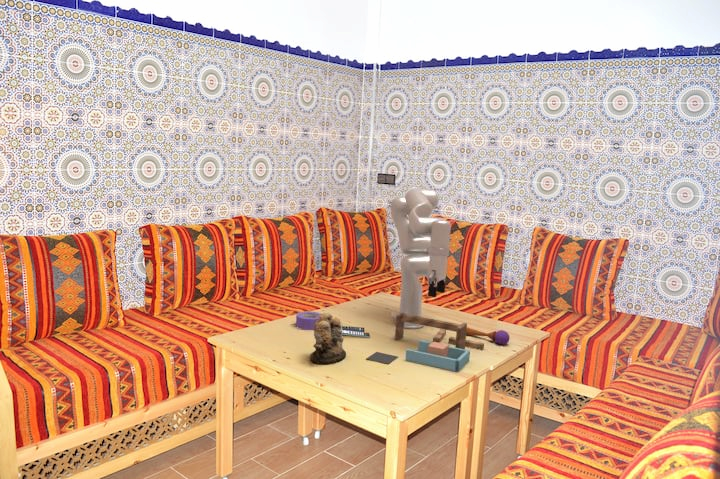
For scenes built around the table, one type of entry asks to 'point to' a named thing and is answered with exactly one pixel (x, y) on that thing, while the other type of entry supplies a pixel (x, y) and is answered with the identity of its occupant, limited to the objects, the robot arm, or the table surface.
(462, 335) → the crook rake
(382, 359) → the grey square tile
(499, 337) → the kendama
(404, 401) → the table surface
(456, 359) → the cubby
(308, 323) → the tape roll
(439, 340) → the plain stick
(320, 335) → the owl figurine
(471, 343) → the plain stick
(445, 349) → the clay-red block
